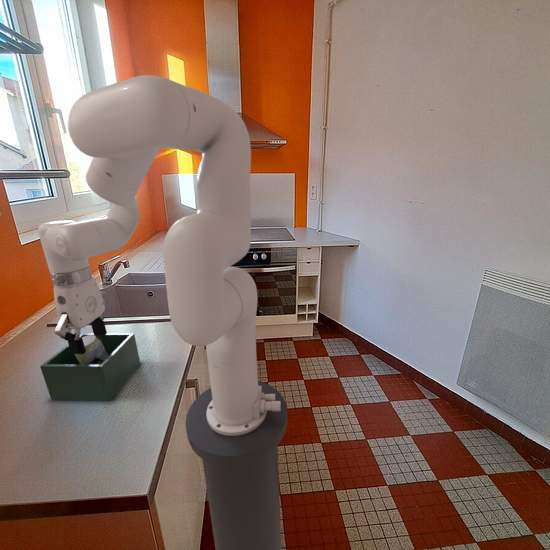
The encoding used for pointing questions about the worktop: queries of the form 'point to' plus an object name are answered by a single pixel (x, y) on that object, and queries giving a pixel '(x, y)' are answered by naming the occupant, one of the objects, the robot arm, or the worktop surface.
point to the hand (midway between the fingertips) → (90, 343)
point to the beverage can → (92, 351)
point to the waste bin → (92, 370)
